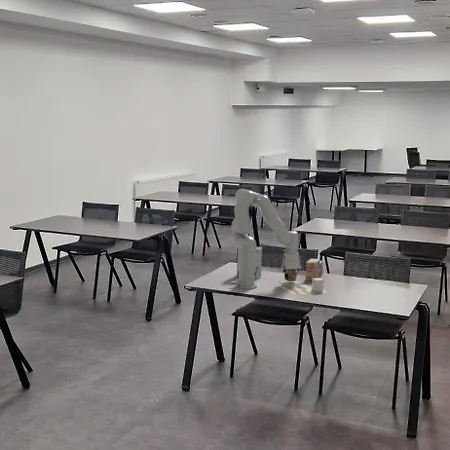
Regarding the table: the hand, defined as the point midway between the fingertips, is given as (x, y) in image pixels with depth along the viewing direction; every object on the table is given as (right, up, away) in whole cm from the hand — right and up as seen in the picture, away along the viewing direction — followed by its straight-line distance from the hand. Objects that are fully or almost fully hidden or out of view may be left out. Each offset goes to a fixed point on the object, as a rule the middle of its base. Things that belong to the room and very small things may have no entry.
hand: (290, 278), depth 390 cm
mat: (0, -3, 0) cm, 3 cm away
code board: (+6, -5, -14) cm, 16 cm away
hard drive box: (-26, 0, +15) cm, 30 cm away
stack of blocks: (+18, -1, +18) cm, 25 cm away
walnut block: (0, -1, 0) cm, 1 cm away
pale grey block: (+15, -6, -16) cm, 23 cm away
